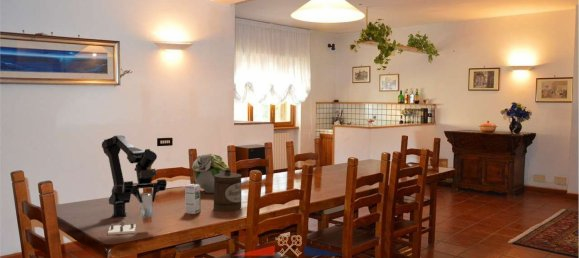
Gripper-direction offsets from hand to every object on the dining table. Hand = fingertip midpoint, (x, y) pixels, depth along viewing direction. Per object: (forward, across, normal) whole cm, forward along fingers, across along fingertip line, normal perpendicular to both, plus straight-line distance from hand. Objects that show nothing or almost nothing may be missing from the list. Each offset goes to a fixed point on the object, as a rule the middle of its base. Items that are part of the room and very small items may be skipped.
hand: (147, 201), depth 210 cm
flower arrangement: (-43, +52, +62) cm, 92 cm away
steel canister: (+4, 0, +6) cm, 7 cm away
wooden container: (-10, +47, +29) cm, 56 cm away
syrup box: (-8, +27, +27) cm, 39 cm away
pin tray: (+6, -10, +12) cm, 17 cm away
